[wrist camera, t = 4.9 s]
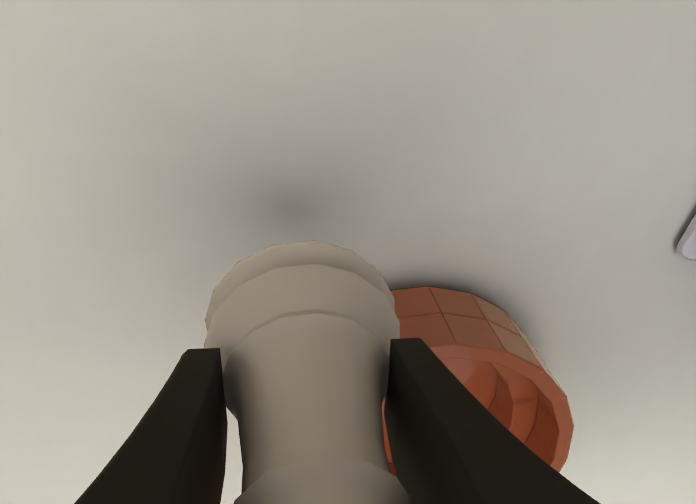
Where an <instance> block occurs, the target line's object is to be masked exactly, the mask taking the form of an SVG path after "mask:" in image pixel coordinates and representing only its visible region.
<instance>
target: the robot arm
mask: <svg viewBox="0 0 696 504" xmlns="http://www.w3.org/2000/svg"><path fill="white" fill-rule="evenodd" d="M677 252H678V253H679V254H680V255H681V256H683V257H684V258H686V259H691V260H696V214H695V216H694V217H693V219H692V221H691V222H690V224H689V226H688V227H687V229H686V231H685V232H684V234H683V236H682V237H681V239H680V241H679V242H678V245H677ZM389 359H390V362H389V375H388V388H387V393H386V396H385V405H384V418H385V423H386V429H387V435H388V441H389V446H390V451H391V457H392V461H393V465H394V468H395V472H396V475H397V478H398V480H399V481H400V483H401V484H402V486H403V487H404V489H405V490H406V492H407V493H408V495H409V496H410V504H600V503H599V502H597V501H596V500H594V499H593V498H592V497H590V496H589V495H587V494H586V493H585V492H583V491H582V490H581V489H579V488H578V487H576V486H575V485H574V484H572V483H571V482H570V481H569V480H567V479H566V478H565V477H564V476H562V475H561V474H560V473H559V472H557V471H556V470H555V469H553V468H552V467H551V466H550V465H548V464H547V463H546V462H545V461H543V460H542V459H541V458H540V457H538V456H537V455H536V454H535V453H534V452H532V451H531V450H530V449H529V448H528V447H527V446H526V445H524V444H523V443H522V442H521V441H520V440H519V439H518V438H517V437H516V436H515V435H513V434H512V433H511V432H510V431H509V430H508V429H507V428H506V427H505V426H504V425H503V424H502V423H500V422H499V421H498V420H497V419H496V418H495V417H494V416H493V415H492V414H491V413H490V412H489V411H488V410H487V409H486V408H485V407H484V406H483V405H482V404H481V403H480V402H479V401H478V400H477V399H476V398H475V397H474V396H473V395H472V394H471V393H470V392H469V391H468V389H467V388H466V387H465V386H464V385H463V384H462V383H461V382H460V381H459V380H458V379H457V378H456V377H455V375H454V374H453V373H452V372H451V371H450V370H449V369H448V368H447V367H446V366H445V364H444V363H443V362H442V361H441V360H440V359H439V358H438V357H437V356H436V354H435V353H434V352H433V351H432V350H431V349H430V348H429V347H428V345H427V344H426V343H425V342H424V341H423V340H422V339H421V338H400V339H391V342H390V352H389ZM222 376H223V373H222V363H221V352H220V348H203V349H188V350H187V351H186V352H185V353H184V354H183V355H182V356H181V358H180V360H179V362H178V364H177V365H176V367H175V369H174V370H173V372H172V374H171V375H170V377H169V379H168V380H167V382H166V383H165V385H164V387H163V388H162V390H161V391H160V393H159V394H158V396H157V397H156V399H155V400H154V402H153V403H152V405H151V406H150V408H149V409H148V410H147V412H146V413H145V415H144V416H143V418H142V419H141V420H140V422H139V423H138V425H137V426H136V428H135V429H134V430H133V432H132V433H131V435H130V436H129V437H128V439H127V440H126V441H125V442H124V444H123V445H122V446H121V447H120V449H119V450H118V451H117V453H116V454H115V455H114V456H113V458H112V459H111V460H110V461H109V463H108V464H107V465H106V467H105V468H104V469H103V470H102V472H101V473H100V474H99V475H98V477H97V478H96V479H95V480H94V481H93V482H92V484H91V485H90V486H89V487H88V488H87V490H86V491H85V492H84V493H83V494H82V495H81V496H80V498H79V499H78V500H77V501H76V502H75V503H74V504H220V501H221V495H222V488H223V482H224V475H225V462H226V444H227V414H226V404H225V397H224V388H223V377H222Z"/></svg>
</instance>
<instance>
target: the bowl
mask: <svg viewBox="0 0 696 504" xmlns="http://www.w3.org/2000/svg"><path fill="white" fill-rule="evenodd" d="M391 293H392V295H393V297H394V299H395V314H396V316H397V318H398V320H399V322H400V338H421V339H422V340H423V341H424V342H425V343H426V344H427V345H428V347H429V348H430V349H431V350H432V351H433V352H434V353H435V354H436V356H437V357H438V358H439V359H440V360H441V361H442V362H443V363H444V364H445V366H446V367H447V368H448V369H449V370H450V371H451V372H452V373H453V374H454V375H455V377H456V378H457V379H458V380H459V381H460V382H461V383H462V384H463V385H464V386H465V387H466V388H467V389H468V391H469V392H470V393H471V394H472V395H473V396H474V397H475V398H476V399H477V400H478V401H479V402H480V403H481V404H482V405H483V406H484V407H485V408H486V409H487V410H488V411H489V412H490V413H491V414H492V415H493V416H494V417H495V418H496V419H497V420H498V421H499V422H500V423H502V424H503V425H504V426H505V427H506V428H507V429H508V430H509V431H510V432H511V433H512V434H513V435H515V436H516V437H517V438H518V439H519V440H520V441H521V442H522V443H523V444H524V445H526V446H527V447H528V448H529V449H530V450H531V451H532V452H534V453H535V454H536V455H537V456H538V457H540V458H541V459H542V460H543V461H545V462H546V463H547V464H548V465H550V466H551V467H552V468H553V469H555V470H556V471H557V472H560V470H561V469H562V467H563V465H564V464H565V462H566V459H567V457H568V452H569V448H570V443H571V438H572V433H573V427H574V425H573V421H572V417H571V413H570V408H569V404H568V400H567V396H566V395H565V393H564V391H563V390H562V388H561V387H560V386H559V384H558V383H557V381H556V380H555V378H554V377H553V375H552V374H551V372H550V371H549V369H548V368H547V366H546V365H545V364H544V362H543V361H542V359H541V358H540V356H539V355H538V353H537V352H536V350H535V349H534V347H533V346H532V345H531V343H530V342H529V340H528V339H527V337H526V336H525V334H524V333H523V332H522V331H521V330H520V328H519V327H518V326H517V325H516V324H515V323H514V321H513V320H512V319H511V318H510V317H509V315H508V314H507V313H506V312H505V311H503V310H502V309H500V308H498V307H496V306H494V305H492V304H490V303H489V302H487V301H485V300H483V299H481V298H479V297H477V296H475V295H473V294H470V293H467V292H460V291H454V290H448V289H442V288H435V287H429V288H428V287H427V286H425V287H417V288H409V289H400V290H392V291H391ZM384 405H385V398H384V400H383V402H382V416H383V430H384V444H385V451H386V455H387V459H388V463H389V468H390V472H391V474H392V475H394V476H396V477H397V475H396V472H395V468H394V465H393V461H392V457H391V451H390V446H389V441H388V435H387V429H386V423H385V418H384Z"/></svg>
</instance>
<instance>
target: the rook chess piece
mask: <svg viewBox="0 0 696 504" xmlns="http://www.w3.org/2000/svg"><path fill="white" fill-rule="evenodd" d="M205 323H206V327H207V332H208V333H207V336H206V340H205V343H204V347H205V348H220V352H221V363H222V373H223V376H222V377H223V388H224V397H225V403H226V407H227V408H228V409H229V410H230V412H231V413H232V414H233V415H234V416H235V417H236V419H237V420H238V427H239V436H240V445H241V454H242V463H243V476H242V494H241V495H240V496H239V497H238V498H237V499H236V500H235V501H234V504H410V496H409V495H408V493H407V492H406V490H405V489H404V487H403V486H402V484H401V483H400V481H399V480H398V478H397V477H396V476H394V475H392V474H391V472H390V468H389V463H388V459H387V455H386V451H385V444H384V430H383V416H382V402H383V400H384V398H385V396H386V393H387V388H388V375H389V362H390V359H389V352H390V342H391V339H400V322H399V320H398V318H397V316H396V314H395V299H394V297H393V295H392V293H391V291H390V289H389V288H388V286H387V284H386V282H385V280H384V278H383V276H382V274H381V272H380V271H379V270H378V269H376V268H375V267H374V266H372V265H371V264H369V263H368V262H367V261H365V260H364V259H363V258H361V257H360V256H359V255H357V254H356V253H355V252H353V251H352V250H349V249H345V248H341V247H337V246H333V245H329V244H325V243H321V242H317V241H306V242H296V243H286V244H277V245H272V246H270V247H268V248H266V249H264V250H262V251H260V252H258V253H256V254H254V255H252V256H250V257H248V258H246V259H243V260H241V261H239V262H238V263H237V264H236V265H235V266H234V267H233V268H232V269H231V271H230V272H229V273H228V274H227V275H226V276H225V277H224V278H223V280H222V281H221V282H220V283H219V284H218V285H217V286H216V287H215V289H214V290H213V294H212V298H211V301H210V305H209V308H208V312H207V315H206V319H205Z"/></svg>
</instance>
